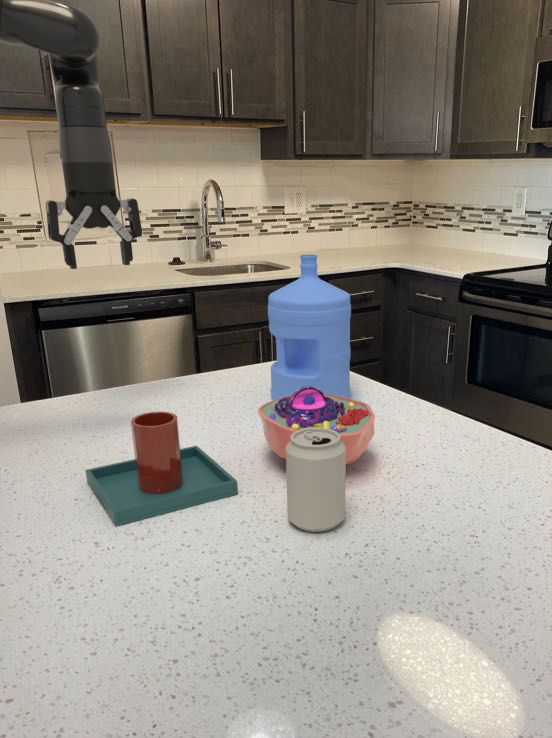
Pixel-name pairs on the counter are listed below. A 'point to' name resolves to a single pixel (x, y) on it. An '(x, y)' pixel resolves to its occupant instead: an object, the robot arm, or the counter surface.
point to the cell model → (317, 420)
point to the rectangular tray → (131, 504)
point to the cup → (157, 452)
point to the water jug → (310, 335)
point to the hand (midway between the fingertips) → (100, 266)
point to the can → (316, 479)
